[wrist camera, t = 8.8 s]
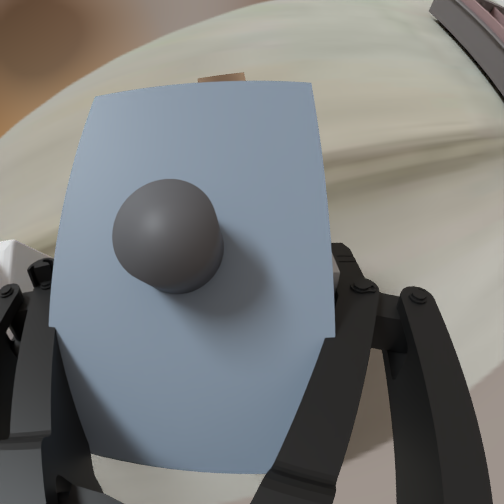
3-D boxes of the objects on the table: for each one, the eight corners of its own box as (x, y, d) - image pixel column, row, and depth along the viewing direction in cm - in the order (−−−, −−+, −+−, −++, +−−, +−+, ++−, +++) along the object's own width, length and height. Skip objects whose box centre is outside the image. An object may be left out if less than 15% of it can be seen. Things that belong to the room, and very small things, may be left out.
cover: (155, 391, 17) (24, 455, 5) (163, 206, 20) (79, 68, 8) (287, 395, 17) (348, 494, 5) (283, 204, 20) (318, 49, 8)
